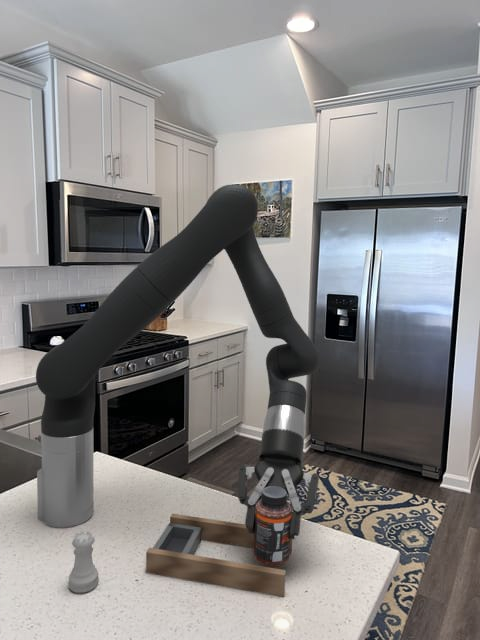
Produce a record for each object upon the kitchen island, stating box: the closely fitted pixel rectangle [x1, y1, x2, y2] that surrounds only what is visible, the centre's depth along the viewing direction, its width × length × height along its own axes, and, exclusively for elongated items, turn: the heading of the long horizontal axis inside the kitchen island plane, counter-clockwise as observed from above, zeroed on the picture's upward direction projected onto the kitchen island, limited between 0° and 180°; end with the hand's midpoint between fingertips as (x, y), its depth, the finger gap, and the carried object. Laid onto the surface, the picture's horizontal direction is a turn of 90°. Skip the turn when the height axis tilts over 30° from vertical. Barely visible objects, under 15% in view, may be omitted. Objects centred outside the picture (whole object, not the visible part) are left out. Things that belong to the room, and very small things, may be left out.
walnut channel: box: [145, 513, 293, 598], centre depth 79 cm, size 22×12×4 cm, turn 78°
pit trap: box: [152, 522, 202, 555], centre depth 81 cm, size 6×9×2 cm, turn 168°
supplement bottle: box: [253, 486, 293, 567], centre depth 77 cm, size 6×6×11 cm
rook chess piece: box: [67, 530, 100, 594], centre depth 72 cm, size 4×4×8 cm
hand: (271, 534), depth 76 cm, fingers closed on supplement bottle, 6 cm apart
